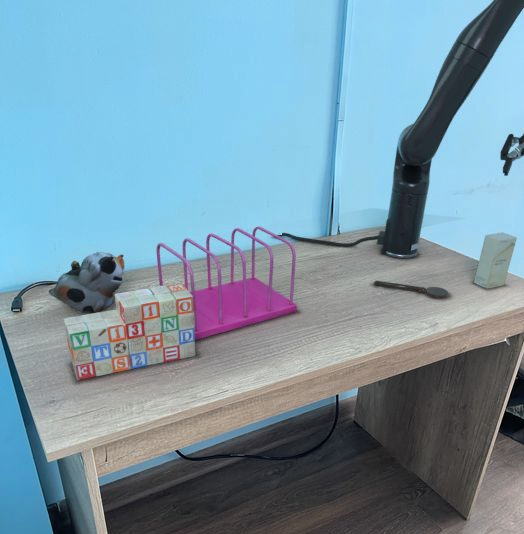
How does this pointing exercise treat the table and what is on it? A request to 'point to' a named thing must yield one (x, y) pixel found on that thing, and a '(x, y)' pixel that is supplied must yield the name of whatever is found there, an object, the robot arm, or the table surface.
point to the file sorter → (233, 291)
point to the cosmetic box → (495, 260)
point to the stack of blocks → (133, 332)
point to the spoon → (416, 289)
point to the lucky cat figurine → (90, 282)
